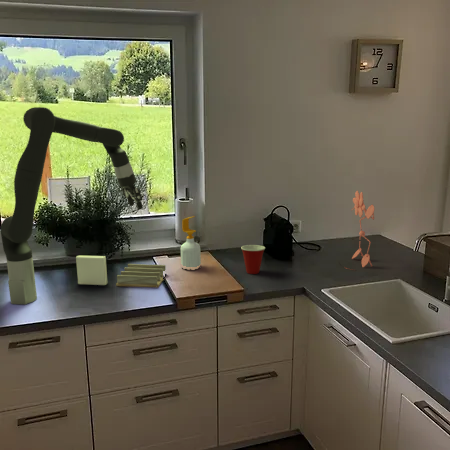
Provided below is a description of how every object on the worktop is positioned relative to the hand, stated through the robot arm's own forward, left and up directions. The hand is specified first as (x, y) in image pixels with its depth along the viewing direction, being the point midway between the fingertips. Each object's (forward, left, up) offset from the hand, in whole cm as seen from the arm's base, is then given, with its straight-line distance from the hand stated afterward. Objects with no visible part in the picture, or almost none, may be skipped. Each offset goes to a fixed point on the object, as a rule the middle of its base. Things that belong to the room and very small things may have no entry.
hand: (136, 207), depth 218 cm
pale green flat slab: (-20, +15, -29) cm, 39 cm away
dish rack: (-14, -5, -29) cm, 33 cm away
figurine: (+17, -99, -29) cm, 105 cm away
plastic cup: (+1, -52, -29) cm, 60 cm away
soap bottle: (+4, -23, -29) cm, 38 cm away
